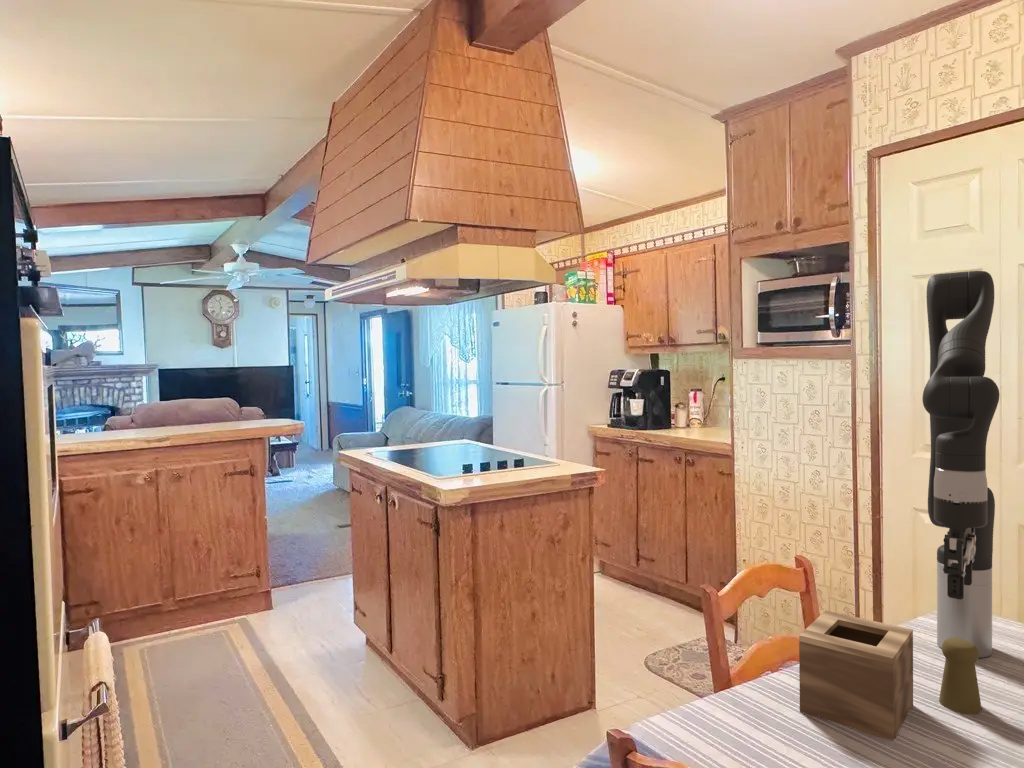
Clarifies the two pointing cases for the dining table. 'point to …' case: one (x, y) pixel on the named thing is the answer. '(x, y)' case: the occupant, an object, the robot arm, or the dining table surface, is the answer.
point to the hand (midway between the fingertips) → (960, 590)
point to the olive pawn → (960, 677)
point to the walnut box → (857, 673)
